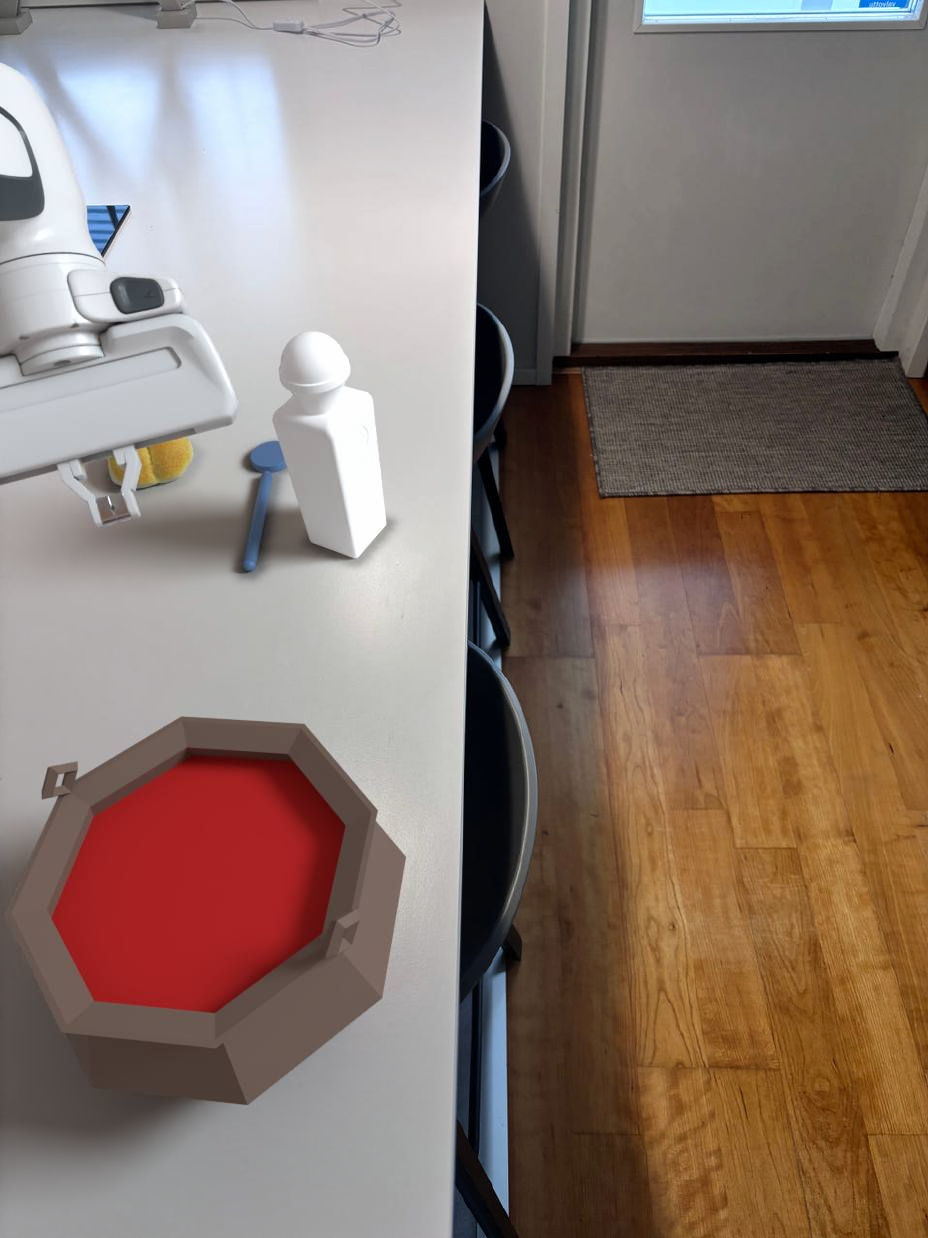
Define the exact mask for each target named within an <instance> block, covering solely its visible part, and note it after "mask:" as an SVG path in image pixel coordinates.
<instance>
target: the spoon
mask: <svg viewBox="0 0 928 1238" xmlns="http://www.w3.org/2000/svg"><path fill="white" fill-rule="evenodd" d="M249 458H250V462H251V465H252V467H253V468H254V469H255V470H256V471H257V472H260V473H261V475H260V480H259V484H258V489H257V495H256V499H255V503H254V508H253V513H252V519H251V523H250V528H249V533H248V538H247V544H246V548H245V552H244V557H243V558H244V559H243V563H242V567H243V569H244V570H245V571H247V572H252V571H254V570H255V569H256V567H257V562H258V557H259V552H260V546H261V542H262V537H263V530H264V525H265V521H266V515H267V510H268V506H269V499H270V494H271V489H272V483H273V480H274V479H273V478H274V476H273V473H278V472H281V471H283V470H285V469H287V466H286V462H285V459H284V456H283V453H282V450H281V446H280V443H279V440H269V441H265V442H262V443H260V444H258V445H256V446H255V447H254V448H253V449H252V450H251V452H250V456H249Z"/></svg>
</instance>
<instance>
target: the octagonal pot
mask: <svg viewBox="0 0 928 1238" xmlns="http://www.w3.org/2000/svg"><path fill="white" fill-rule="evenodd" d="M78 772H79V761H78V760H76V761H71V762H66V763H60V764H56V765H50V766H48V767H47V769H46V773H45V776H44V780H43V784H42V788H41V800H47V799H52V798H55V797H56V800H55V802H54V804H53V807H52V809H51V812H50V813H49V816H48V818H47V820H46V822H45V824H44V827H43V829H42V831H41V833H40V836H39V838H38V840H37V842H36V844H35V847H34V849H33V851H32V853H31V856H30V857H29V860H28V861H27V864H26V866H25V868H24V871H23V873H22V876H21V877H20V879H19V882H18V883H17V886H16V888H15V891H14V893H13V894H12V898H11V899H10V901H9V904H8V906H7V908H6V911H5V913H4V917H5V919H6V921H7V923H8V925H9V927H10V929H11V932H12V933H13V935H14V937H15V939H16V942H17V944H18V946H19V948H20V950H21V952H22V955H23V956H24V958H25V960H26V962H27V964H28V966H29V969H30V971H31V972H32V974H33V976H34V978H35V981H36V983H37V985H38V987H39V989H40V991H41V993H42V995H43V997H44V999H45V1002H46V1003H47V1005H48V1008H49V1009H50V1012H51V1014H52V1016H53V1018H54V1021H55V1022H56V1025H57V1027H58V1028H59V1030H60V1033H64V1034H65V1036H66V1038H67V1040H68V1042H69V1044H70V1046H71V1048H72V1050H73V1052H74V1054H75V1056H76V1058H77V1061H78V1063H79V1065H80V1066H81V1069H82V1071H83V1073H84V1075H85V1077H86V1079H87V1082H88V1083H89V1086H90V1087H91V1088H92V1089H97V1090H98V1089H99V1090H106V1091H107V1090H109V1091H116V1092H126V1093H127V1092H128V1093H136V1094H144V1095H154V1096H161V1097H162V1096H163V1097H169V1098H179V1099H187V1100H197V1101H207V1102H217V1103H223V1104H234V1105H242V1106H249V1105H250V1104H251V1103H252V1102H254V1101H255V1100H256V1099H258V1098H259V1097H260V1096H261V1095H263V1094H264V1093H265V1092H266V1091H267V1090H269V1089H270V1088H271V1087H273V1086H274V1085H275V1084H276V1083H278V1082H279V1081H280V1080H281V1079H283V1078H284V1077H285V1076H287V1075H288V1074H289V1073H290V1072H292V1071H293V1070H294V1069H295V1068H296V1067H298V1066H299V1065H300V1064H301V1063H303V1062H304V1061H305V1060H307V1059H308V1058H309V1057H311V1056H312V1055H313V1054H314V1053H316V1052H317V1051H318V1050H319V1049H321V1048H322V1047H323V1046H324V1045H326V1044H327V1043H328V1042H329V1041H331V1040H332V1039H333V1038H335V1036H337V1035H338V1034H339V1033H341V1031H344V1030H345V1029H346V1028H347V1027H348V1026H350V1025H351V1024H352V1023H354V1021H356V1020H357V1019H358V1018H359V1017H361V1016H362V1015H363V1014H365V1013H366V1012H367V1011H369V1009H371V1008H372V1007H373V1006H375V1005H376V1004H377V1003H379V1001H381V1000H382V999H383V996H384V990H385V986H386V985H385V984H386V978H387V973H388V967H389V961H390V954H391V950H392V943H393V936H394V931H395V925H396V919H397V915H398V908H399V902H400V896H401V889H402V884H403V879H404V873H405V872H404V871H405V868H406V867H405V866H406V860H407V856H406V854H405V853H403V851H402V850H401V848H400V847H399V846H398V845H397V844H396V843H395V842H394V841H393V839H392V838H391V837H390V835H388V833H387V832H386V831H385V830H384V829H383V827H382V826H381V824H379V823H378V821H377V817H378V813H379V810H378V809H377V807H376V806H375V805H374V804H373V802H372V801H371V800H370V799H369V798H368V797H367V796H366V794H365V793H364V792H363V791H362V790H361V789H360V787H359V786H358V785H357V784H356V782H355V781H354V780H353V778H351V776H350V775H349V774H348V773H347V772H346V770H344V768H343V767H342V766H341V765H340V764H339V762H337V760H336V759H335V758H334V756H332V754H331V753H330V752H329V751H328V750H327V748H326V747H325V746H324V745H323V744H322V743H321V742H320V740H319V738H317V737H316V736H315V734H314V732H312V731H311V730H310V728H309V727H308V726H307V725H306V724H305V723H298V722H285V721H284V722H282V721H267V720H266V721H264V720H249V719H233V718H217V717H216V718H214V717H199V716H198V717H197V716H179V717H177V718H176V719H174V720H173V721H171V722H170V723H168V724H166V725H164V726H162V727H161V728H159V729H158V730H156V731H155V732H153V733H150V734H149V735H148V736H146V737H144V738H142V739H141V740H139V741H138V742H137V743H134V744H133V745H131V746H129V747H128V748H126V749H124V750H122V751H121V752H119V753H118V754H116V755H114V756H112V757H111V758H110V759H107V760H106V761H104V762H103V763H101V764H99V765H98V766H96V767H95V768H93V769H91V770H89V771H87V772H86V773H84V774H83V775H81V776H79V777H77V775H78ZM62 774H63V777H62V780H61V785H59V786H57V782H58V778H59V775H62Z"/></svg>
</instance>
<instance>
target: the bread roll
mask: <svg viewBox="0 0 928 1238" xmlns="http://www.w3.org/2000/svg"><path fill="white" fill-rule="evenodd" d="M137 452H138V455H139V458H140V461H141V464H142V467H141V471H140V475H139V479H138V483H137V487H136V490H137V489H145V488H149V487H152V486H155V485H158V484H167V483H170V482H174V481H176V480H178V479H179V478H181V477H182V476H183V475H184V474H185V472H186V470H187V469H188V467H189V466H190V464H191V463H192V462H193V460H194V455H195V451H194V448H193V445H192V442H191V440H190V439H189V436H187V437H184V438H180V439H176V440H172V441H168V442H165V443H161V444H157V445H153V446H149V447H145V448H142V449H138V450H137ZM106 459H107V468H108V473H109V476H110V479H111V481H112V482H113V483H114V484H115V485H117V486H119V487H122V482H123V477H124V473H125V469H124V470H123V469H122V468H120V467H119V466H118V465H117V463H116V460H115V457H114V456H111V457H107V458H106Z"/></svg>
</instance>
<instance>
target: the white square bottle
mask: <svg viewBox="0 0 928 1238" xmlns="http://www.w3.org/2000/svg"><path fill="white" fill-rule="evenodd" d="M279 363H280V364H279V367H278V376H279V381H280V384H281V386H283V388H285V389H286V390H287V391H289V392H290V393H291V394H292V396H291V397H289V398H288V400H286V401H285V402H284V403H283V404H282V405H281V406H280V407H279V408H277V409H276V410H275V411H274V413H273V414H272V424H273V427H274V430H275V433H276V436H277V441H279V443H280V446H281V450H282V453H283V456H284V459H285V462H286V466H287V467H286V469H287V472H288V475H289V478H290V482H291V484H292V488H293V491H294V494H295V497H296V500H297V503H298V507H299V510H300V513H301V517H302V520H303V523H304V526H305V530H306V532H307V535H308V538H309V541H310V543H312V544H314V545H317V546H319V547H322V548H325V549H328V550H330V551H333V552H336V553H338V554H341V555H344V556H346V557H349V558H352V559H358V558H359V557H360V556H361V555H362V553H363V552H364V551H365V550H366V549H367V548H368V546H369V545H370V544H371V543H372V542H373V541H374V540H375V538H376V537H377V536H378V535H379V534H380V533H381V532H382V530H383V529H384V528H385V527H386V526H387V517H386V509H385V498H384V490H383V489H384V488H383V482H382V472H381V464H380V463H381V462H380V452H379V444H378V436H377V435H378V434H377V426H376V417H375V406H374V399H373V397H372V395H371V394H370V393H369V392H367V391H364V390H360V389H356V388H353V387H350V386H347V385H346V381H347V380H348V378H349V377H350V374H351V369H352V368H351V364H350V361H349V358H348V356H347V355H346V353H344V351H343V349H342V347H341V345H340V344H339V343H338V342H337V340H335V339H334V338H333V337H331V336H330V335H328V334H327V333H323V332H320V331H315V330H313V331H311V330H310V331H304V332H300V333H299V334H296V335H295V336H293V337H292V338H291V339H290V340H289V341H287V343H286V344H285V346H284V348H283V349H282V352H281V356H280V362H279Z"/></svg>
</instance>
